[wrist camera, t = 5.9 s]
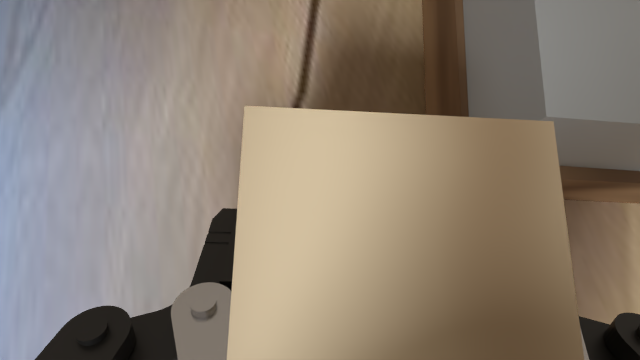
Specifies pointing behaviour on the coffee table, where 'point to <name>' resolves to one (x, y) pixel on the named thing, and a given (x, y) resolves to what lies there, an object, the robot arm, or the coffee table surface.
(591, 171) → the tower base
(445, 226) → the oak block
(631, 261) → the coffee table surface
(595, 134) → the tower top
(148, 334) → the robot arm
